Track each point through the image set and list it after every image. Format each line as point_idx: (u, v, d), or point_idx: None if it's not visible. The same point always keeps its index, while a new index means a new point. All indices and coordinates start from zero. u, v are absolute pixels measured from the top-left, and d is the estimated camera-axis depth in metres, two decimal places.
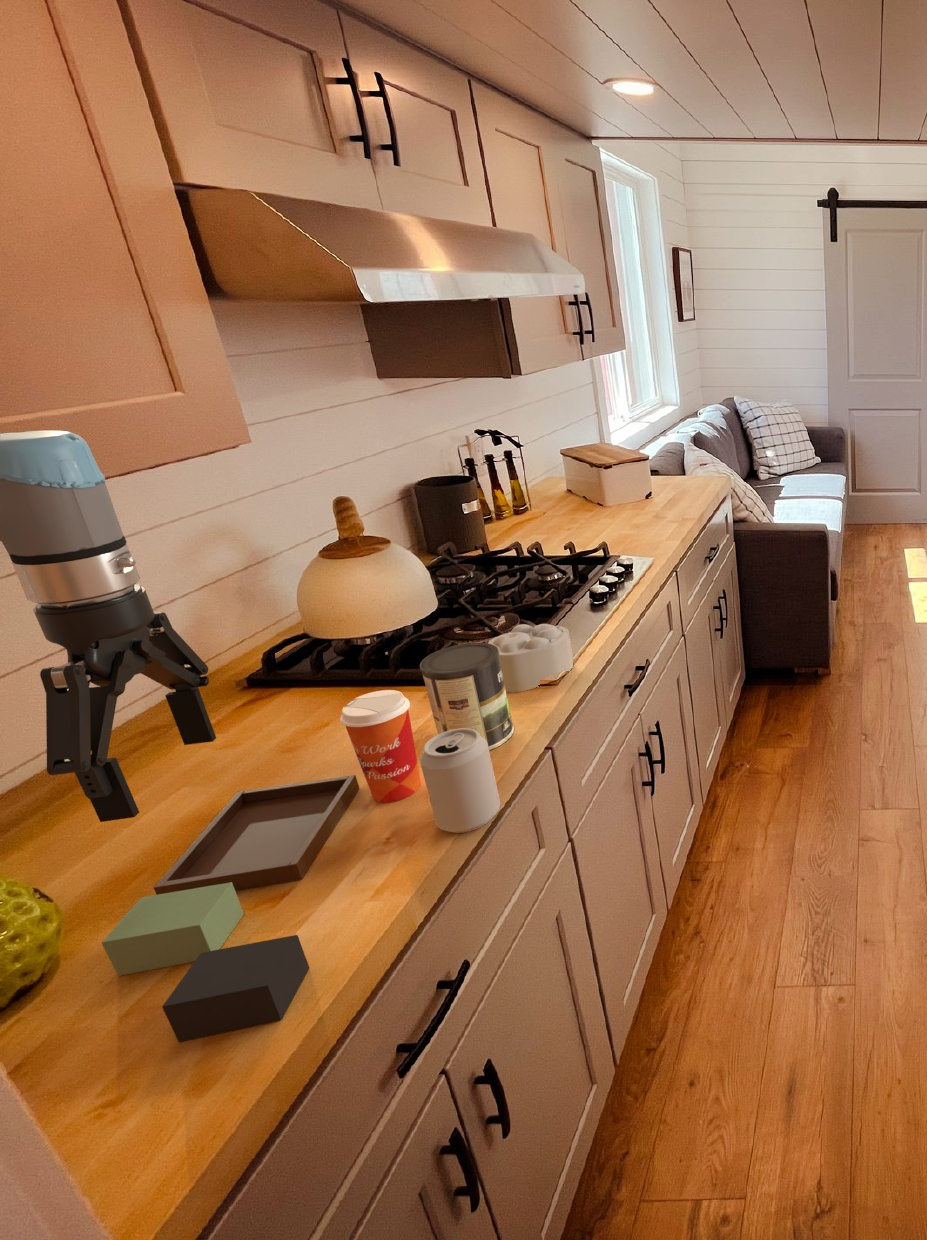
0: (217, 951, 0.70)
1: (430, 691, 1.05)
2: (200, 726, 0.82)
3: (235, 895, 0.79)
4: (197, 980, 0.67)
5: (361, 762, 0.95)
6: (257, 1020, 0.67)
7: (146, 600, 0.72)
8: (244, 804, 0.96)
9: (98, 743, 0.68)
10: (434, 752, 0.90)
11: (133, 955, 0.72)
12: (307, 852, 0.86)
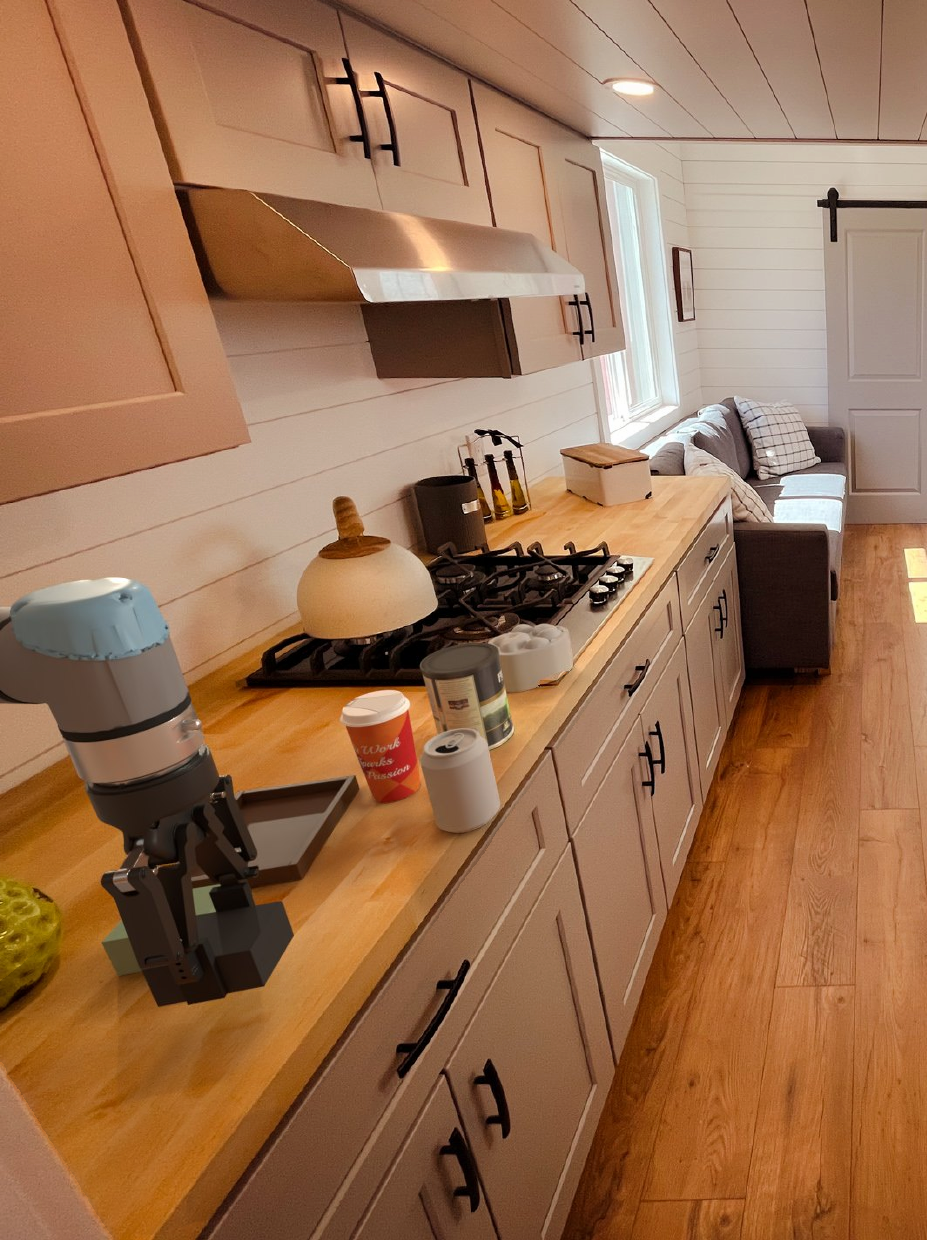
0: (199, 916, 0.68)
1: (430, 691, 1.05)
2: None
3: None
4: None
5: (361, 762, 0.95)
6: (239, 985, 0.66)
7: (211, 763, 0.62)
8: (244, 804, 0.96)
9: (186, 931, 0.61)
10: (434, 752, 0.90)
11: (133, 955, 0.72)
12: (307, 852, 0.86)
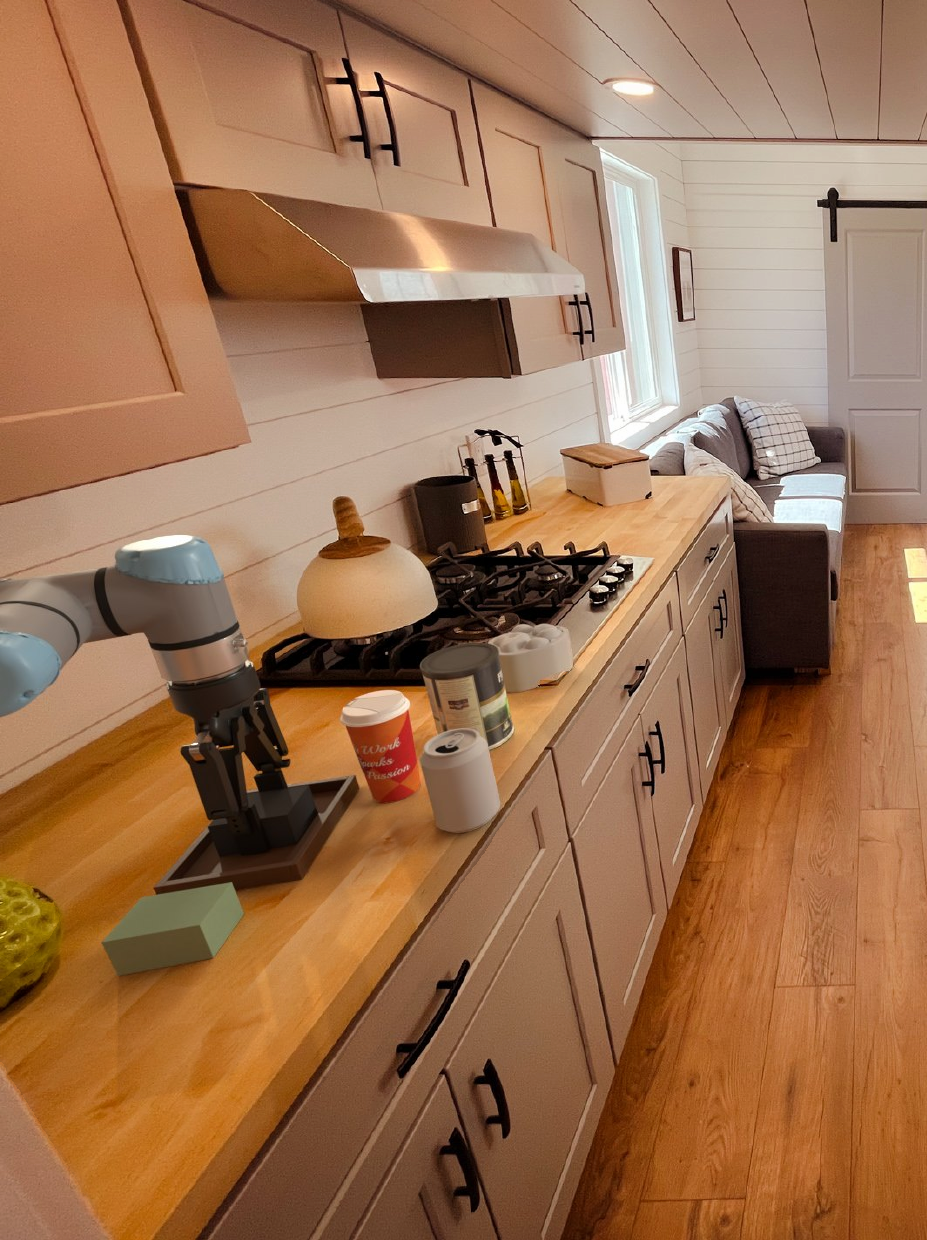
0: (247, 794, 0.91)
1: (430, 691, 1.05)
2: None
3: (235, 895, 0.79)
4: None
5: (361, 762, 0.95)
6: (279, 842, 0.88)
7: (255, 673, 0.85)
8: None
9: (239, 795, 0.84)
10: (434, 752, 0.90)
11: (133, 955, 0.72)
12: (307, 852, 0.86)
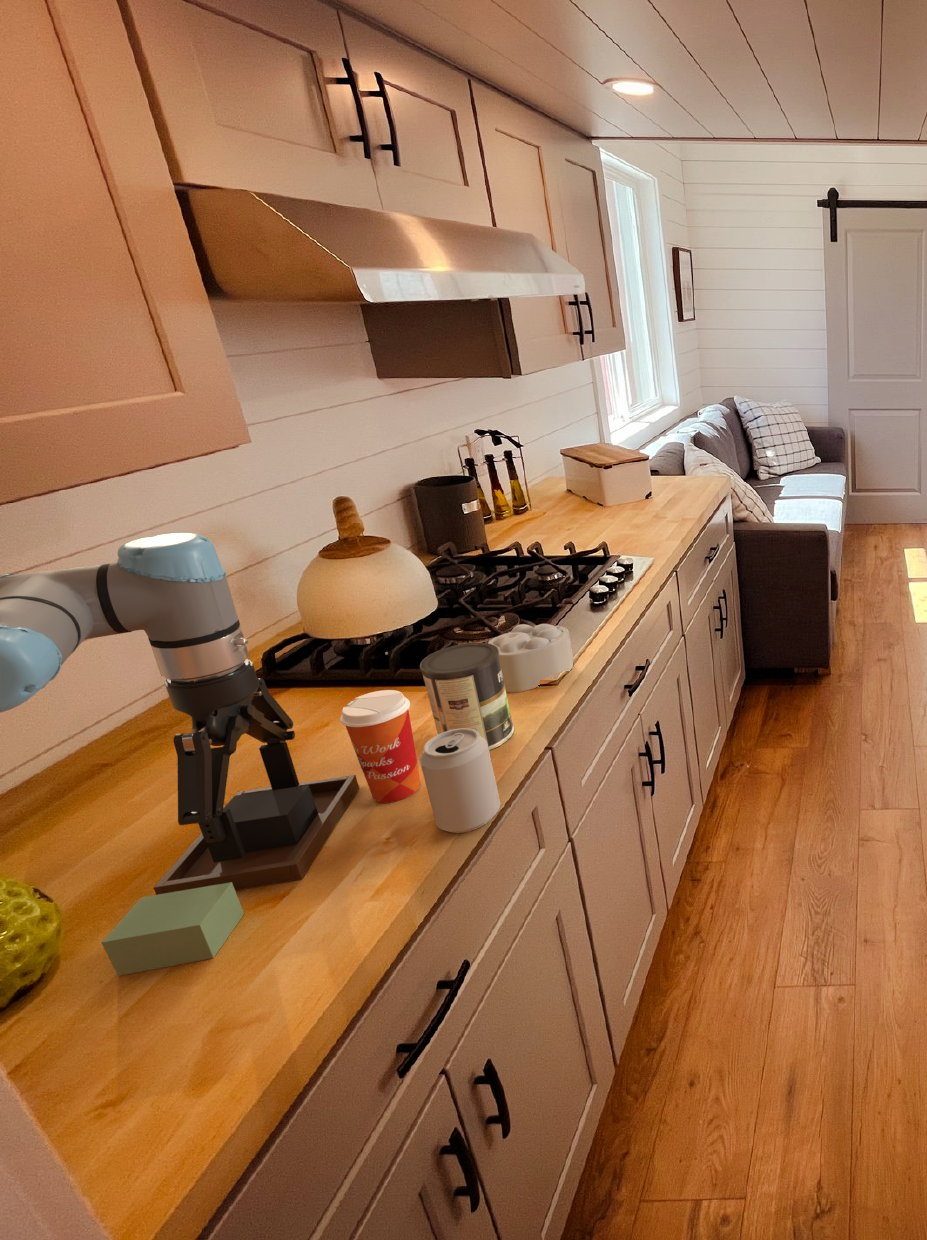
0: (247, 794, 0.91)
1: (430, 691, 1.05)
2: (287, 774, 0.95)
3: (235, 895, 0.79)
4: (233, 811, 0.88)
5: (361, 762, 0.95)
6: (279, 842, 0.88)
7: (254, 672, 0.85)
8: None
9: (217, 796, 0.80)
10: (434, 752, 0.90)
11: (133, 955, 0.72)
12: (307, 852, 0.86)
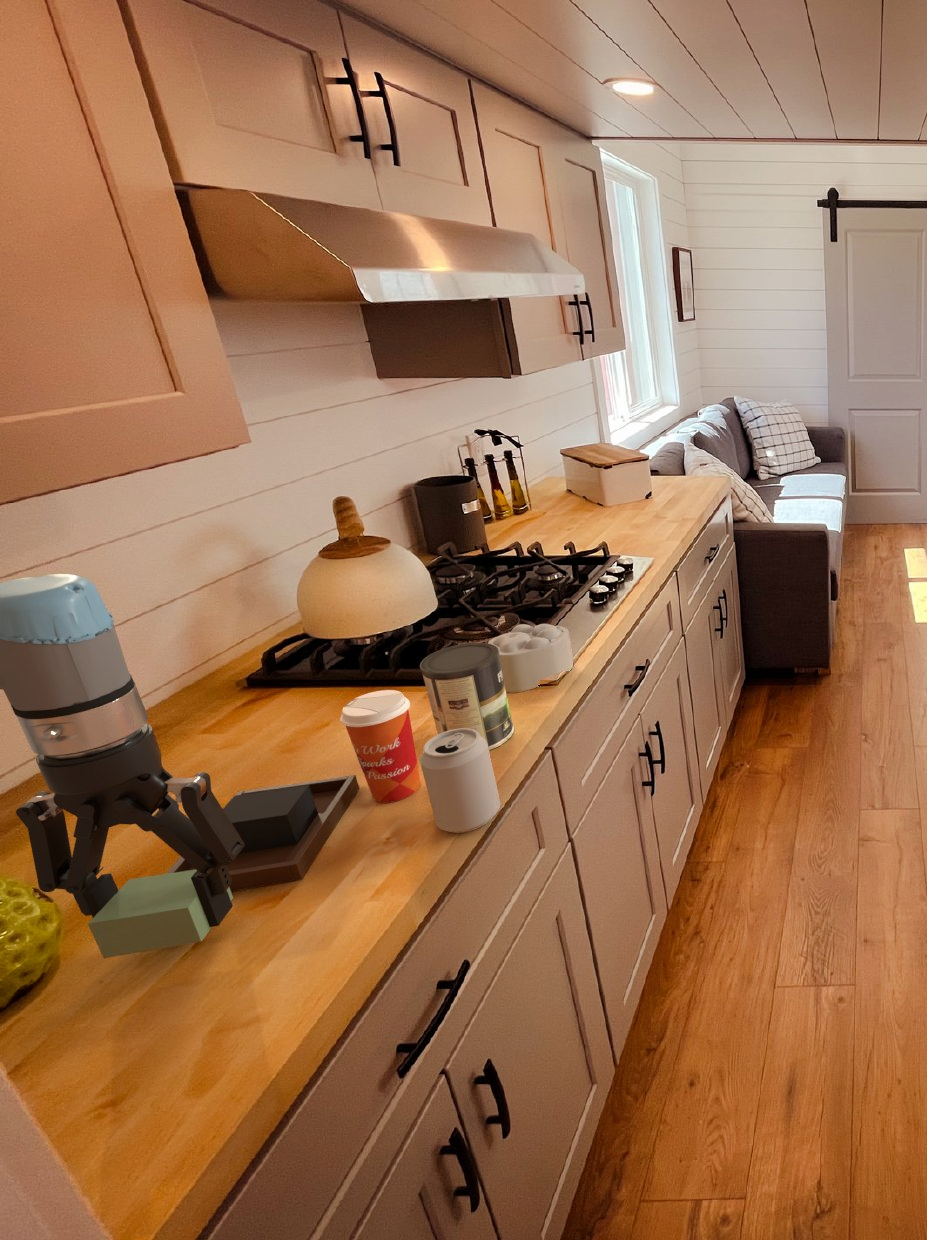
0: (247, 794, 0.91)
1: (430, 691, 1.05)
2: None
3: None
4: (233, 811, 0.88)
5: (361, 762, 0.95)
6: (279, 842, 0.88)
7: (83, 772, 0.65)
8: None
9: (68, 875, 0.70)
10: (434, 752, 0.89)
11: (119, 938, 0.71)
12: (307, 852, 0.86)
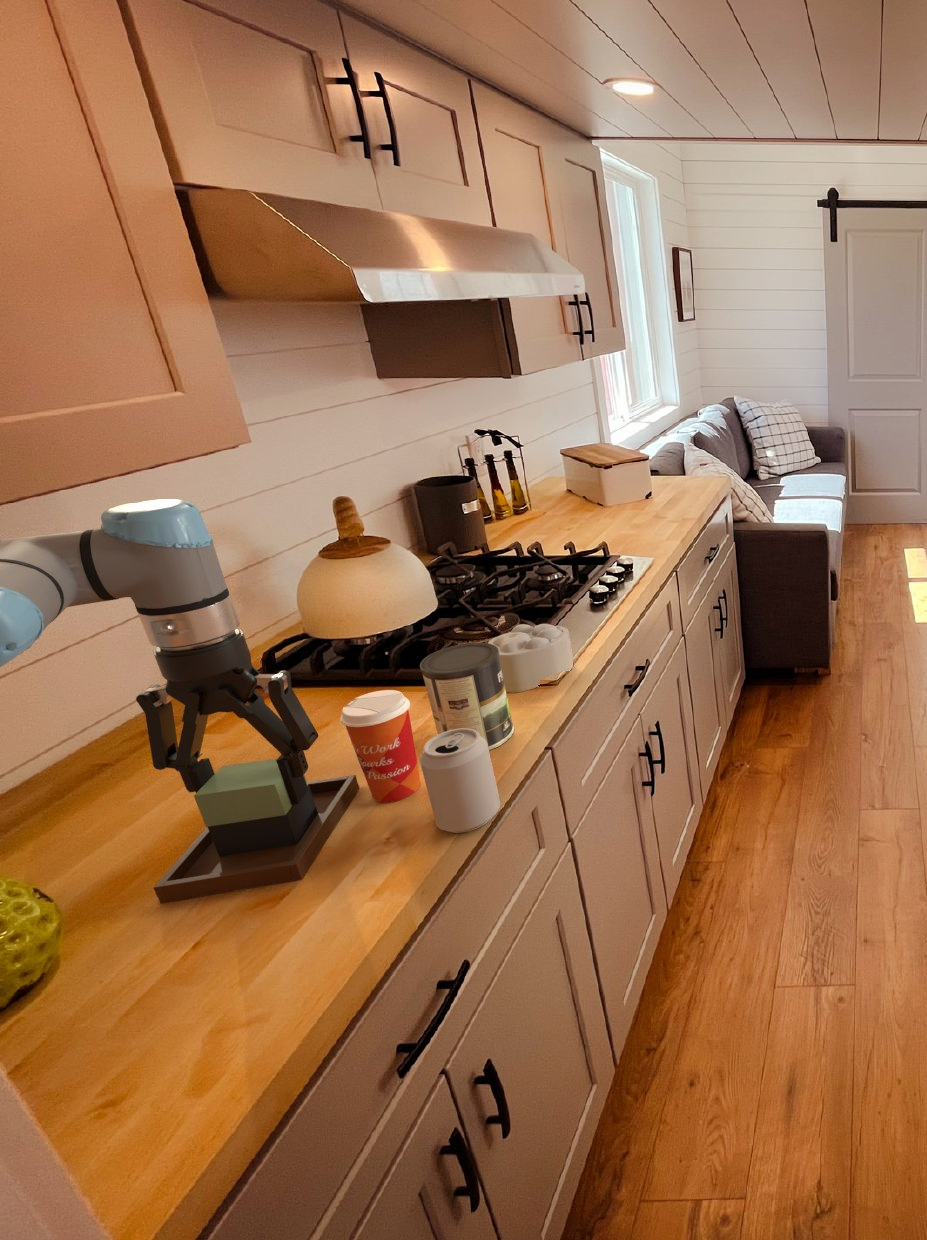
0: None
1: (430, 691, 1.05)
2: None
3: None
4: None
5: (361, 762, 0.95)
6: (279, 842, 0.88)
7: (192, 662, 0.78)
8: None
9: (176, 755, 0.83)
10: (434, 752, 0.90)
11: (219, 809, 0.85)
12: (307, 852, 0.86)
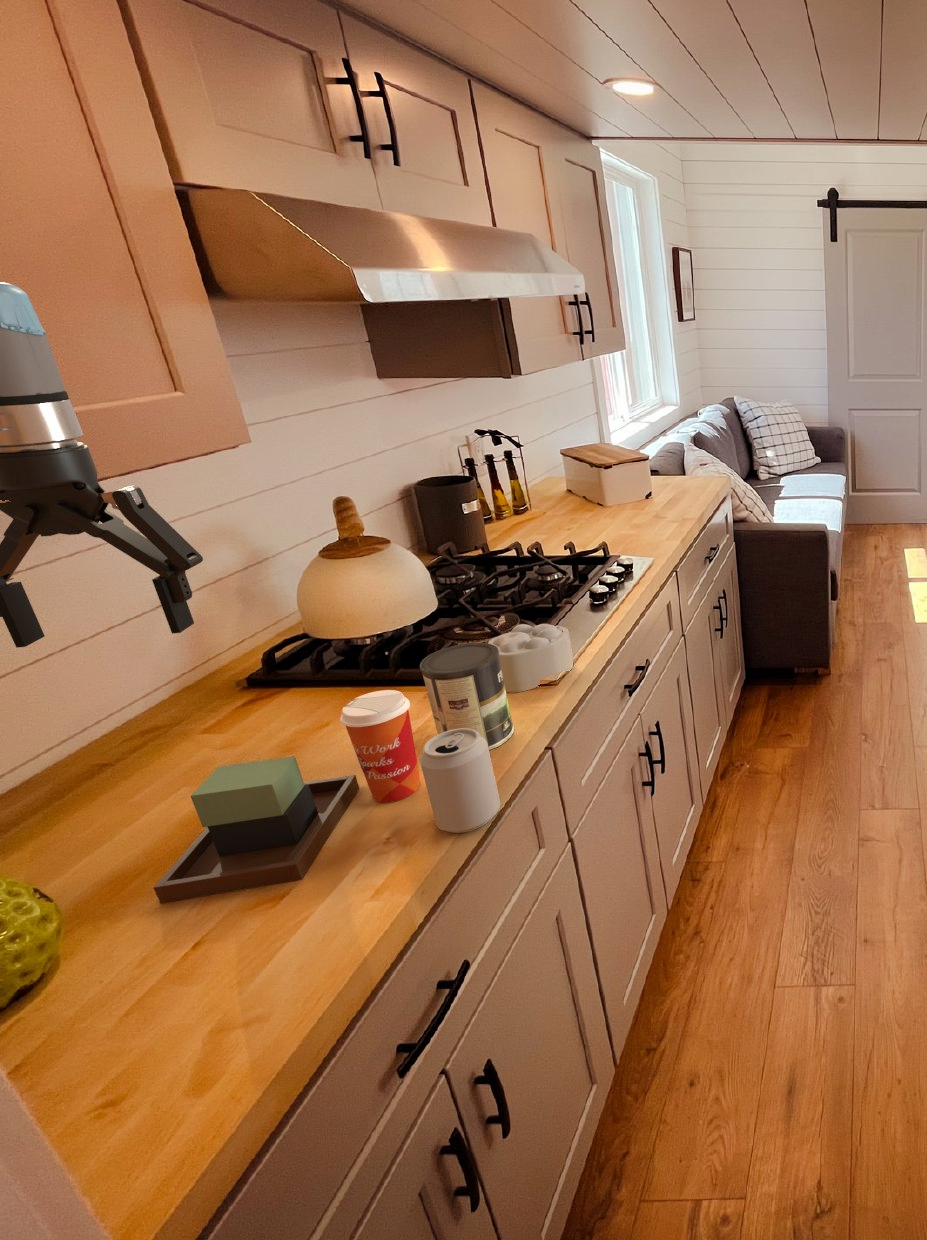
0: None
1: (430, 691, 1.05)
2: None
3: (297, 767, 0.91)
4: None
5: (361, 762, 0.95)
6: (279, 842, 0.88)
7: (20, 466, 0.70)
8: None
9: None
10: (434, 752, 0.90)
11: (216, 809, 0.85)
12: (307, 852, 0.86)
